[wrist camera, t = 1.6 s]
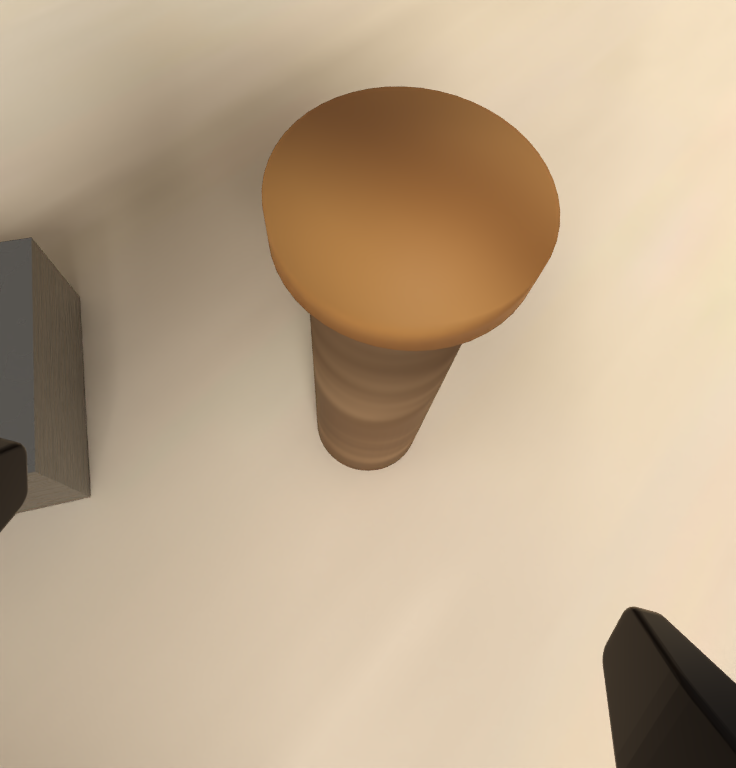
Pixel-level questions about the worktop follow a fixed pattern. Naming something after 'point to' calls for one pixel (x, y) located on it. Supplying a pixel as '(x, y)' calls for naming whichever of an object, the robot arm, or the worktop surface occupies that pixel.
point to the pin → (401, 250)
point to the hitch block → (42, 375)
